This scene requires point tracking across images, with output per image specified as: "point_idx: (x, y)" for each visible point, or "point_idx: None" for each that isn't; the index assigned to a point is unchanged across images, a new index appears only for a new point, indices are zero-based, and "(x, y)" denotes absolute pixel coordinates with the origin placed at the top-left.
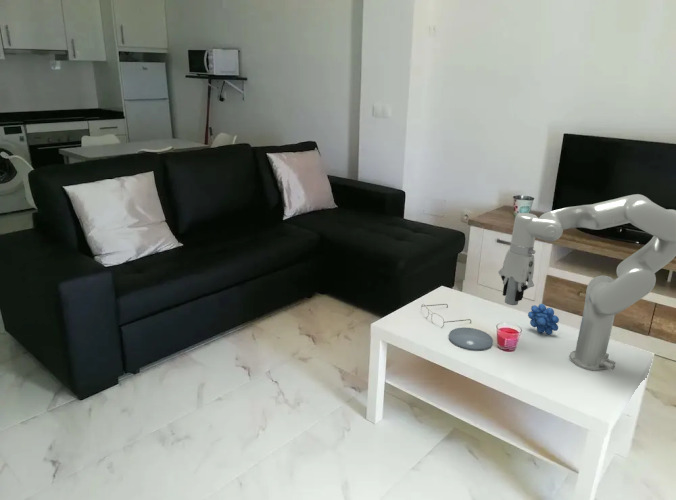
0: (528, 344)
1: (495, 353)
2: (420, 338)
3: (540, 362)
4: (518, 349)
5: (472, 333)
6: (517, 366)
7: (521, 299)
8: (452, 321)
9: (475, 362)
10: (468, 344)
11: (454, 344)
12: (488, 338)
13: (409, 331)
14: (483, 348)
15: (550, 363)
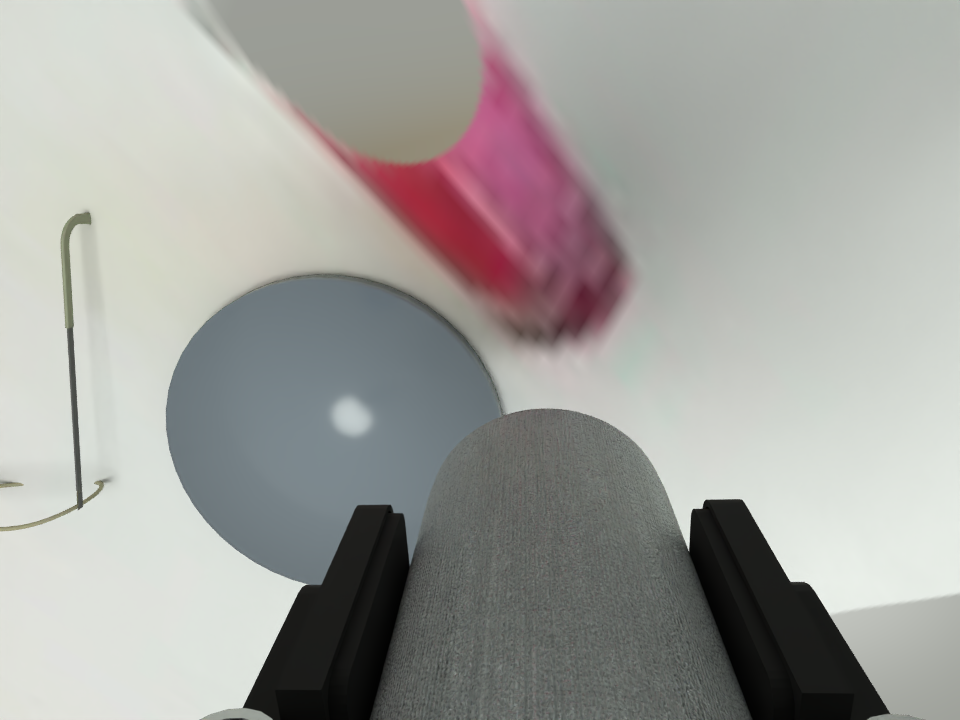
0: (621, 37)
1: None
2: (197, 683)
3: (883, 219)
4: (633, 209)
5: (284, 392)
6: (799, 430)
7: (739, 511)
8: (76, 426)
9: None
10: (415, 539)
11: None
12: (406, 342)
13: (92, 679)
14: None
15: (953, 151)
